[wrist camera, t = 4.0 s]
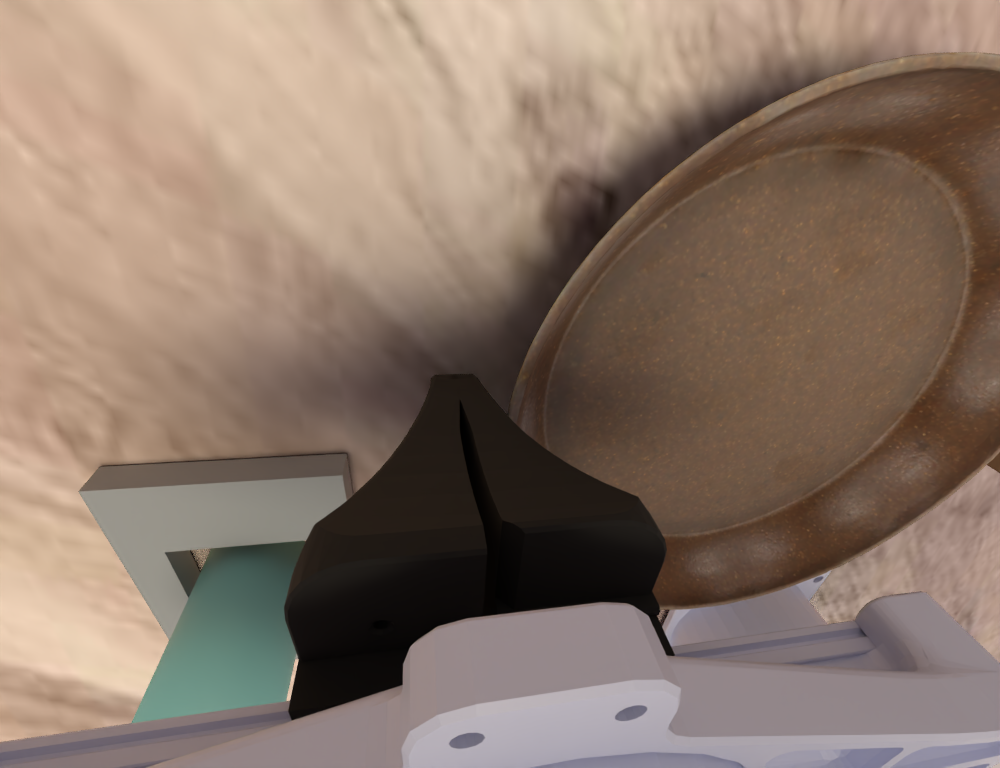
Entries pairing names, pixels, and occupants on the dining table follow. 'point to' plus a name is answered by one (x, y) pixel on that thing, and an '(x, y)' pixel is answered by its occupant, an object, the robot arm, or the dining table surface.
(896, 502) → the plant saucer
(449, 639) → the robot arm
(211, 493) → the socket block
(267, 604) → the dowel
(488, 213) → the dining table surface
